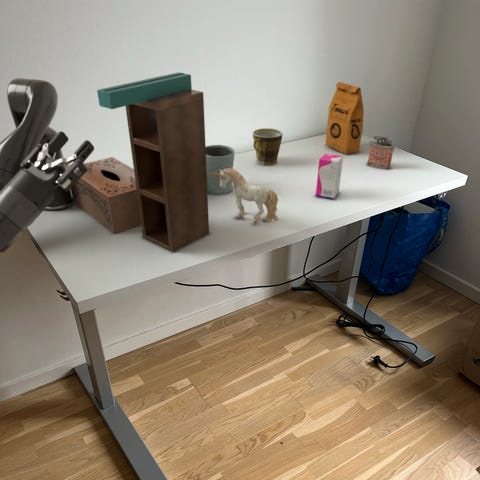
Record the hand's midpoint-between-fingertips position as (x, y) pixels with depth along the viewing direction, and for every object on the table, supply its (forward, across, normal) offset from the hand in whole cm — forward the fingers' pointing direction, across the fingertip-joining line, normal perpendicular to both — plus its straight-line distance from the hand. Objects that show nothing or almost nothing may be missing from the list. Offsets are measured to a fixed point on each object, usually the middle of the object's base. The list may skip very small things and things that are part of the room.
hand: (77, 139), depth 96 cm
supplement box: (+46, +15, -62) cm, 79 cm away
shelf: (+5, 0, -38) cm, 38 cm away
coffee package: (+80, -3, -81) cm, 113 cm away
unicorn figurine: (+20, +8, -46) cm, 51 cm away
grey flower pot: (+30, -12, -52) cm, 62 cm away
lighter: (+74, +16, -77) cm, 108 cm away
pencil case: (+18, 0, -5) cm, 19 cm away
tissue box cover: (+4, -25, -38) cm, 45 cm away
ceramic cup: (+54, -16, -66) cm, 86 cm away
